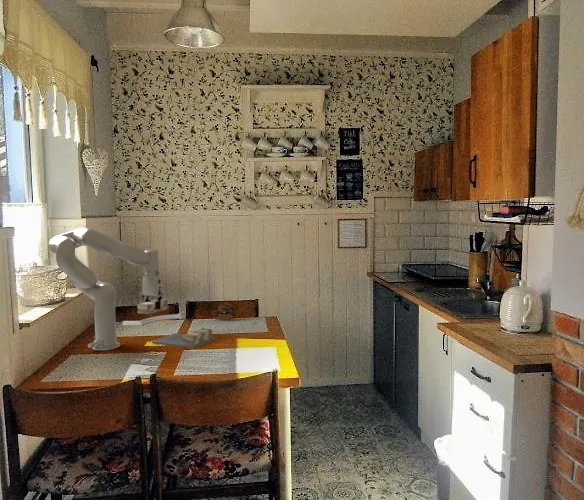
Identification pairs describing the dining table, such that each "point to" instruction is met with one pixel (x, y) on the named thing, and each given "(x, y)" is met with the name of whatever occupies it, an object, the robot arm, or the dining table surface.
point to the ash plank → (151, 307)
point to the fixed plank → (197, 336)
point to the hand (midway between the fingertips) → (152, 308)
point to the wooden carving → (224, 312)
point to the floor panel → (178, 341)
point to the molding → (154, 319)
